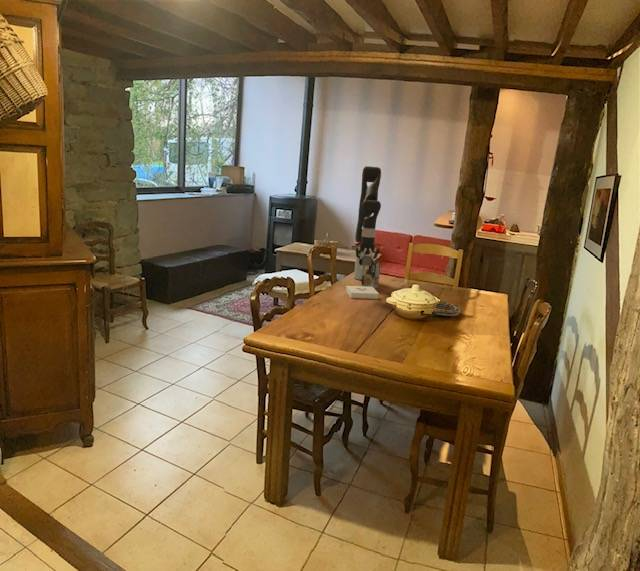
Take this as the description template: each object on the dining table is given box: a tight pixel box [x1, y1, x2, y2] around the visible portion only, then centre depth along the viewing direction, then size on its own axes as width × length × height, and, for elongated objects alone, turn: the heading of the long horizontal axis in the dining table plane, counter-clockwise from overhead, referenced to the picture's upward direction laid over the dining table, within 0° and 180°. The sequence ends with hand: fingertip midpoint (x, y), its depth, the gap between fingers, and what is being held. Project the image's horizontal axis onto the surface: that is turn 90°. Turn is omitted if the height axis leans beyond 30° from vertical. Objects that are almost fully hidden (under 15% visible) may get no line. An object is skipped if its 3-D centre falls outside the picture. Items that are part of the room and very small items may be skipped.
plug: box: [361, 255, 372, 270], centre depth 275 cm, size 5×5×8 cm
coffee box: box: [360, 260, 381, 290], centre depth 297 cm, size 9×6×16 cm
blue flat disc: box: [427, 300, 462, 319], centre depth 255 cm, size 28×27×5 cm
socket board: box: [345, 285, 380, 300], centre depth 280 cm, size 16×16×3 cm
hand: (365, 265), depth 276 cm, fingers closed on plug, 5 cm apart
